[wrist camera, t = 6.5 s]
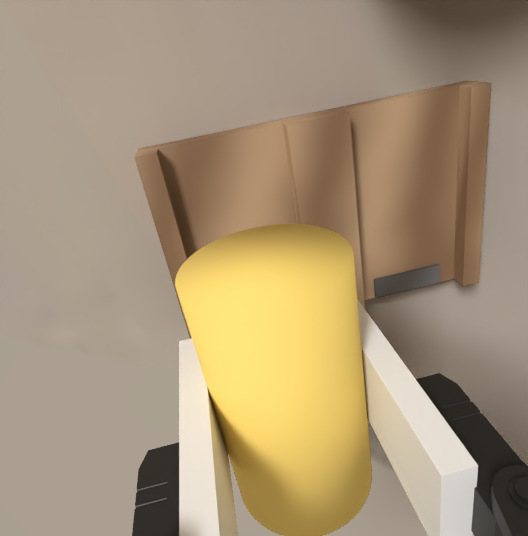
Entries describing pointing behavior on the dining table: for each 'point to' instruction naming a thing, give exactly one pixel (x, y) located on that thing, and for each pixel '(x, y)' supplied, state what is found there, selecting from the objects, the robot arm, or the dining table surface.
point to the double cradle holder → (340, 185)
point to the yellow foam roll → (284, 371)
